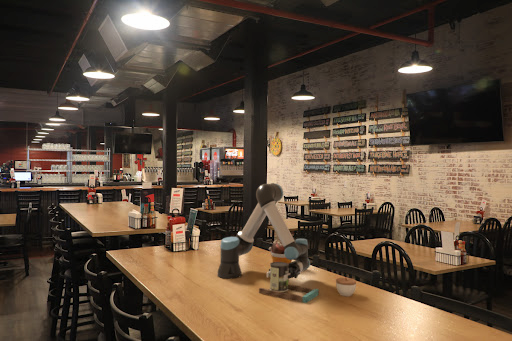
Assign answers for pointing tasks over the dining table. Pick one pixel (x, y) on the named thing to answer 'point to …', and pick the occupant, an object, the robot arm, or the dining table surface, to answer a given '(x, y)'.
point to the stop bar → (310, 295)
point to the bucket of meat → (278, 253)
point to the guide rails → (287, 295)
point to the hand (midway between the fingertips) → (275, 276)
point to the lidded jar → (346, 286)
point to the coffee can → (278, 276)
